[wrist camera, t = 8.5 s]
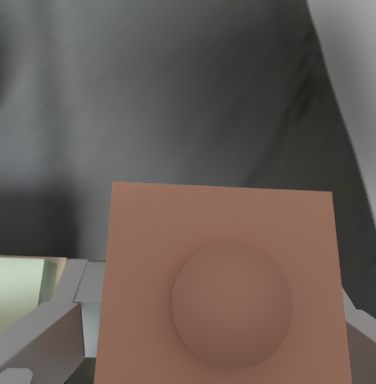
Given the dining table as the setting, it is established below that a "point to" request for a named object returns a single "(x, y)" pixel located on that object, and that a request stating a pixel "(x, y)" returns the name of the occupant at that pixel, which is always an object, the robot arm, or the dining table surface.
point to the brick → (221, 288)
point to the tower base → (26, 284)
